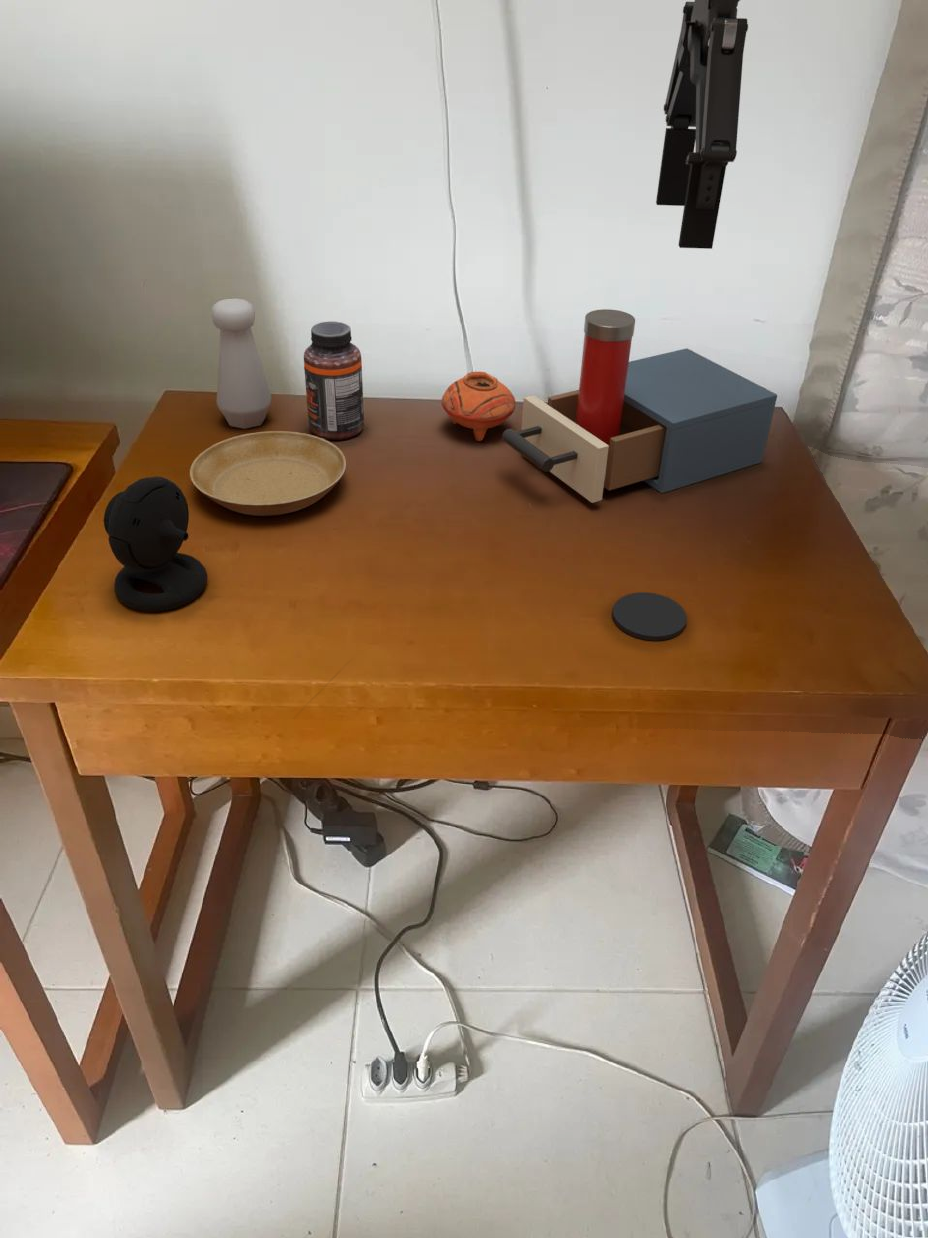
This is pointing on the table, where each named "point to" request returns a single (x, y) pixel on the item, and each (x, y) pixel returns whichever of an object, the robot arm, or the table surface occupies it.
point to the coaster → (649, 616)
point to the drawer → (587, 446)
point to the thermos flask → (604, 372)
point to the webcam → (153, 545)
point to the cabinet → (700, 416)
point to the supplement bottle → (333, 382)
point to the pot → (478, 402)
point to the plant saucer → (268, 472)
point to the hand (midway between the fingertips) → (682, 224)
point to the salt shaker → (239, 366)
